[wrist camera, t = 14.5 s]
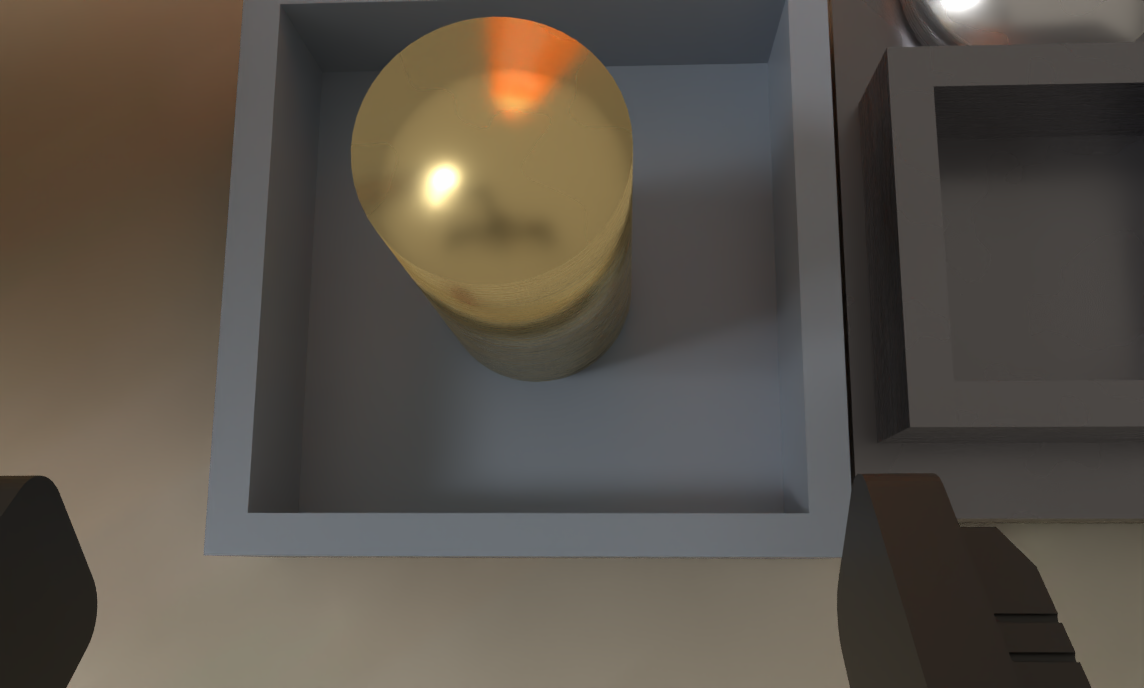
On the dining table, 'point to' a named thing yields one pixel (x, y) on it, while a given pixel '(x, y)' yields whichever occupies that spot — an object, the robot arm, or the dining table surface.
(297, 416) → the tray
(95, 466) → the dining table surface
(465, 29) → the cylinder
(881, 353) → the crank housing
